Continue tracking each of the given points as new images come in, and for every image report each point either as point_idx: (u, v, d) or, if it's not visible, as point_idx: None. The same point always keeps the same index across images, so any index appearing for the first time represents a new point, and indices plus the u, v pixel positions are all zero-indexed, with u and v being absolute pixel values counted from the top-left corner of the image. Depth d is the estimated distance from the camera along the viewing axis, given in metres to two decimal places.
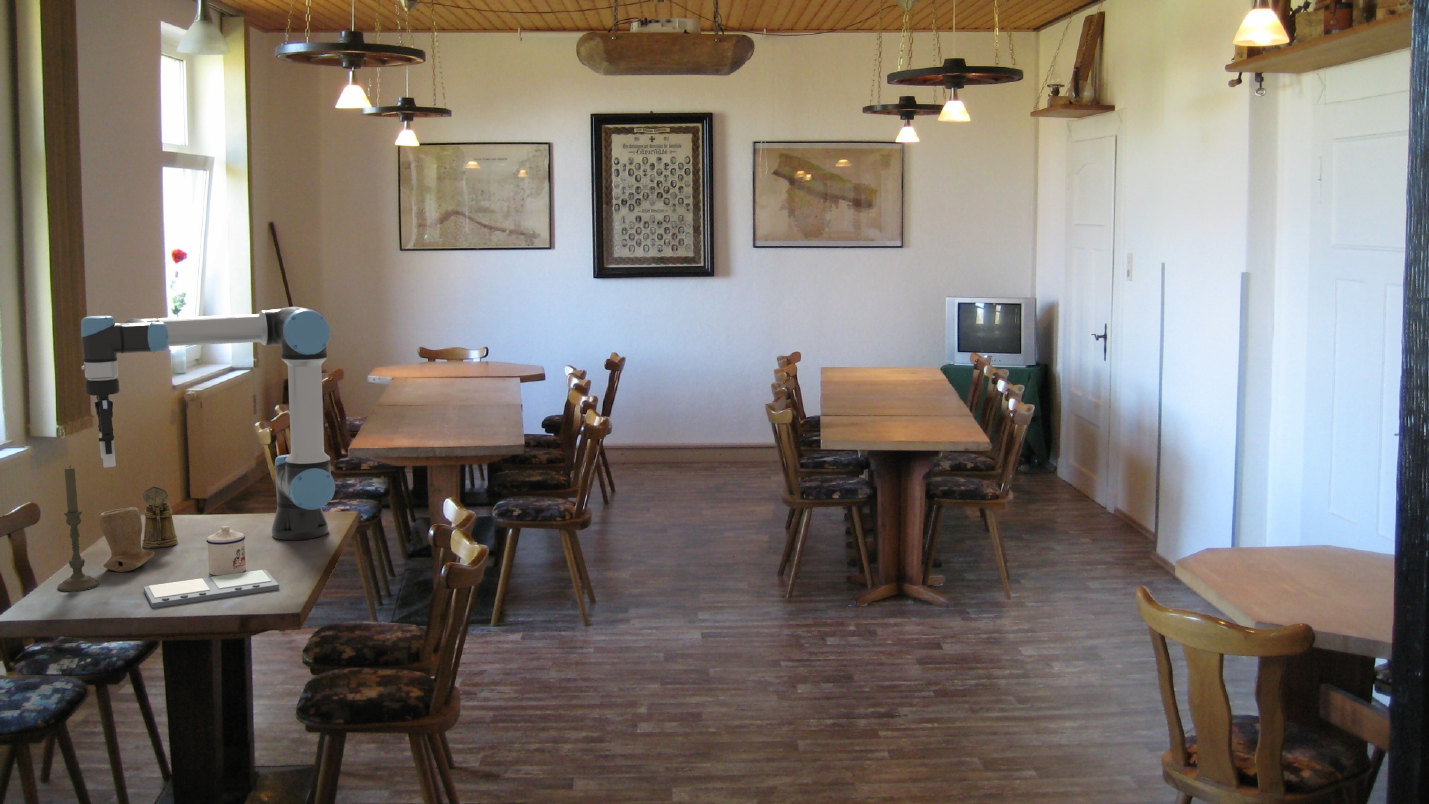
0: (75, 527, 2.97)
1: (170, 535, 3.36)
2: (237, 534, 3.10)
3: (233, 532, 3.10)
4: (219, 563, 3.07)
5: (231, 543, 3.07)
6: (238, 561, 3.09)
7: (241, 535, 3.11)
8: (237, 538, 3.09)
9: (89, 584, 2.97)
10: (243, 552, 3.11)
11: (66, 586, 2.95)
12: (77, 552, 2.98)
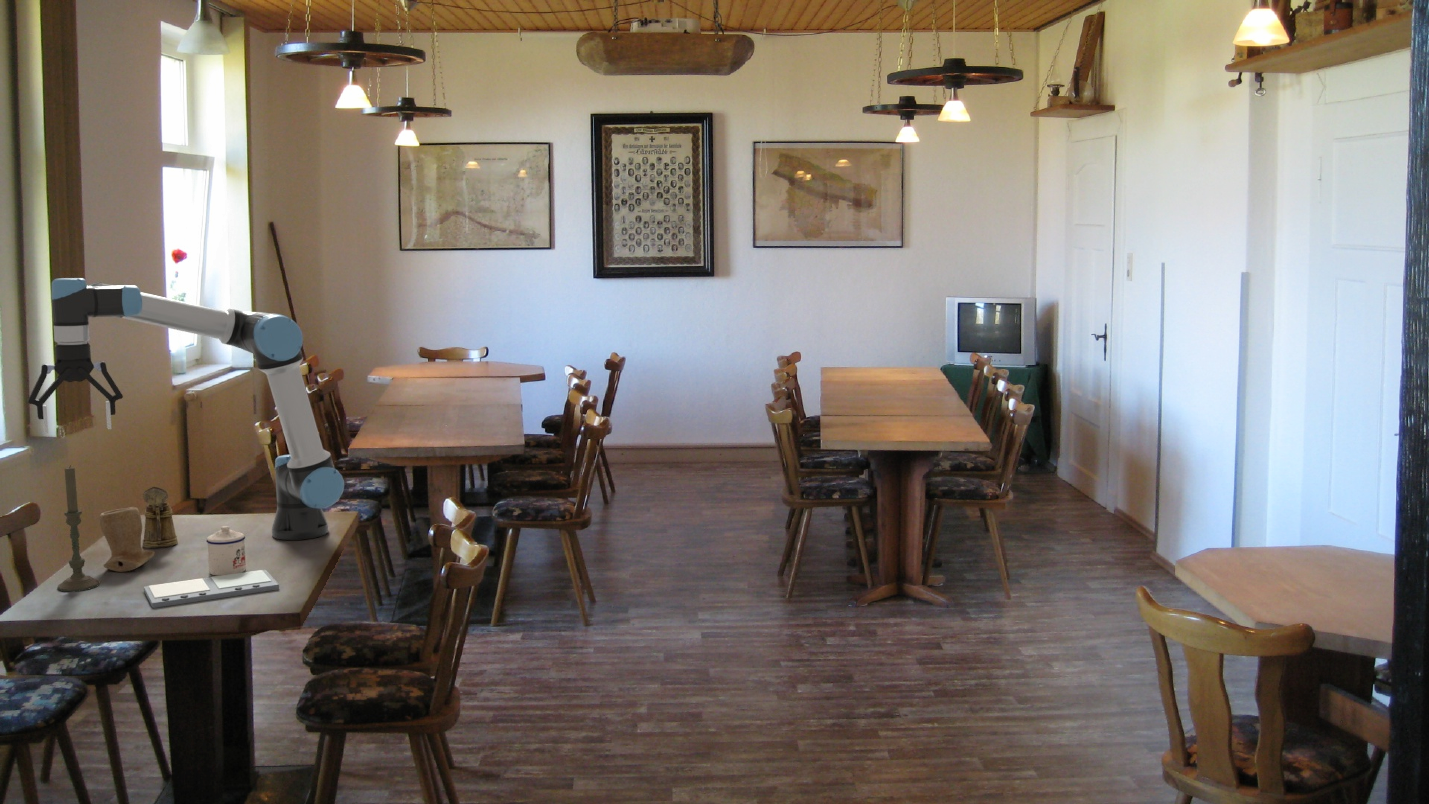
0: (75, 527, 2.97)
1: (170, 535, 3.36)
2: (237, 534, 3.10)
3: (233, 532, 3.10)
4: (219, 563, 3.07)
5: (231, 543, 3.07)
6: (238, 561, 3.09)
7: (241, 535, 3.11)
8: (237, 538, 3.09)
9: (89, 584, 2.97)
10: (243, 552, 3.11)
11: (66, 586, 2.95)
12: (77, 552, 2.98)
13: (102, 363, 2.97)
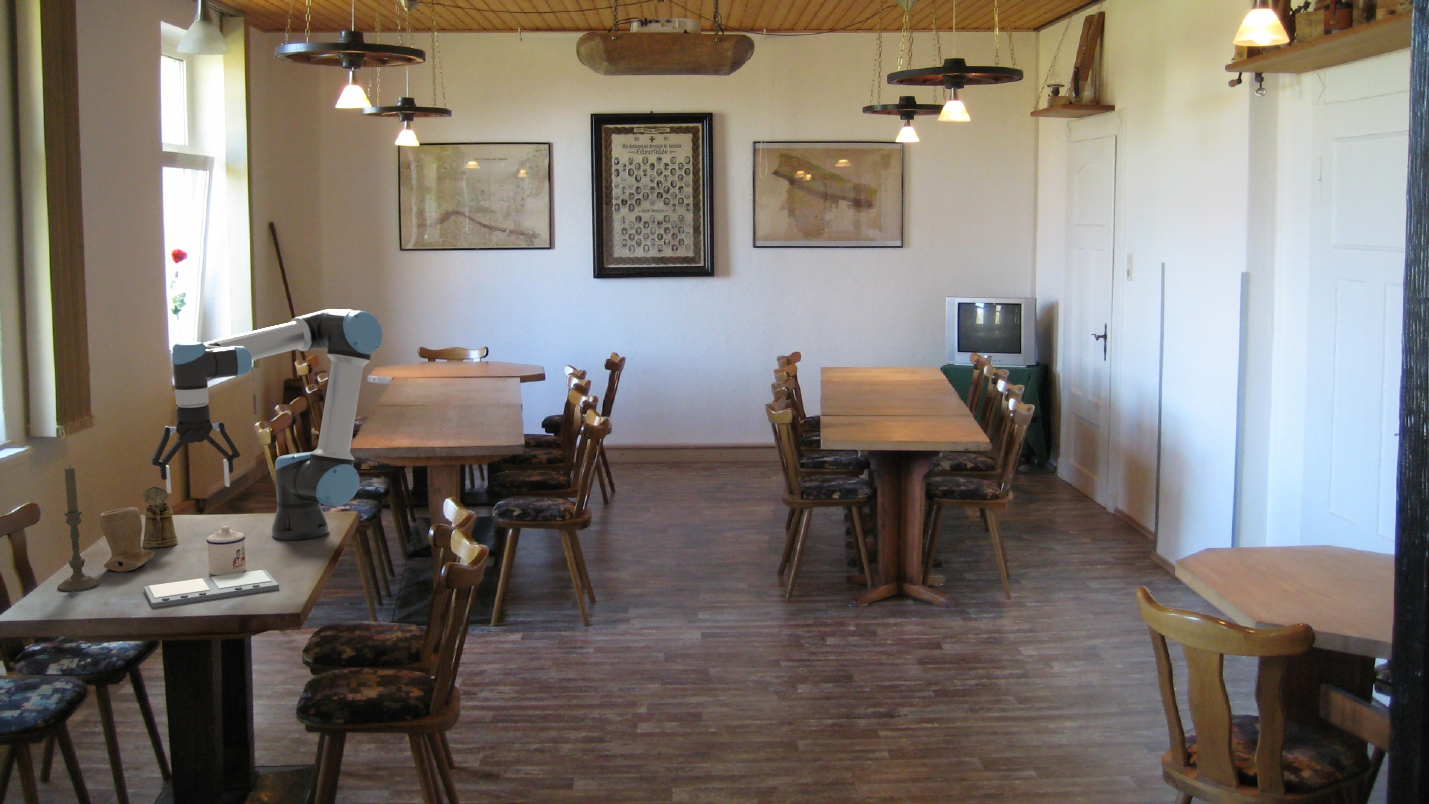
0: (75, 527, 2.97)
1: (170, 535, 3.36)
2: (237, 534, 3.10)
3: (233, 532, 3.10)
4: (219, 563, 3.07)
5: (231, 543, 3.07)
6: (238, 561, 3.09)
7: (241, 535, 3.11)
8: (237, 538, 3.09)
9: (89, 584, 2.97)
10: (243, 552, 3.11)
11: (66, 586, 2.95)
12: (77, 552, 2.98)
13: (221, 423, 3.07)
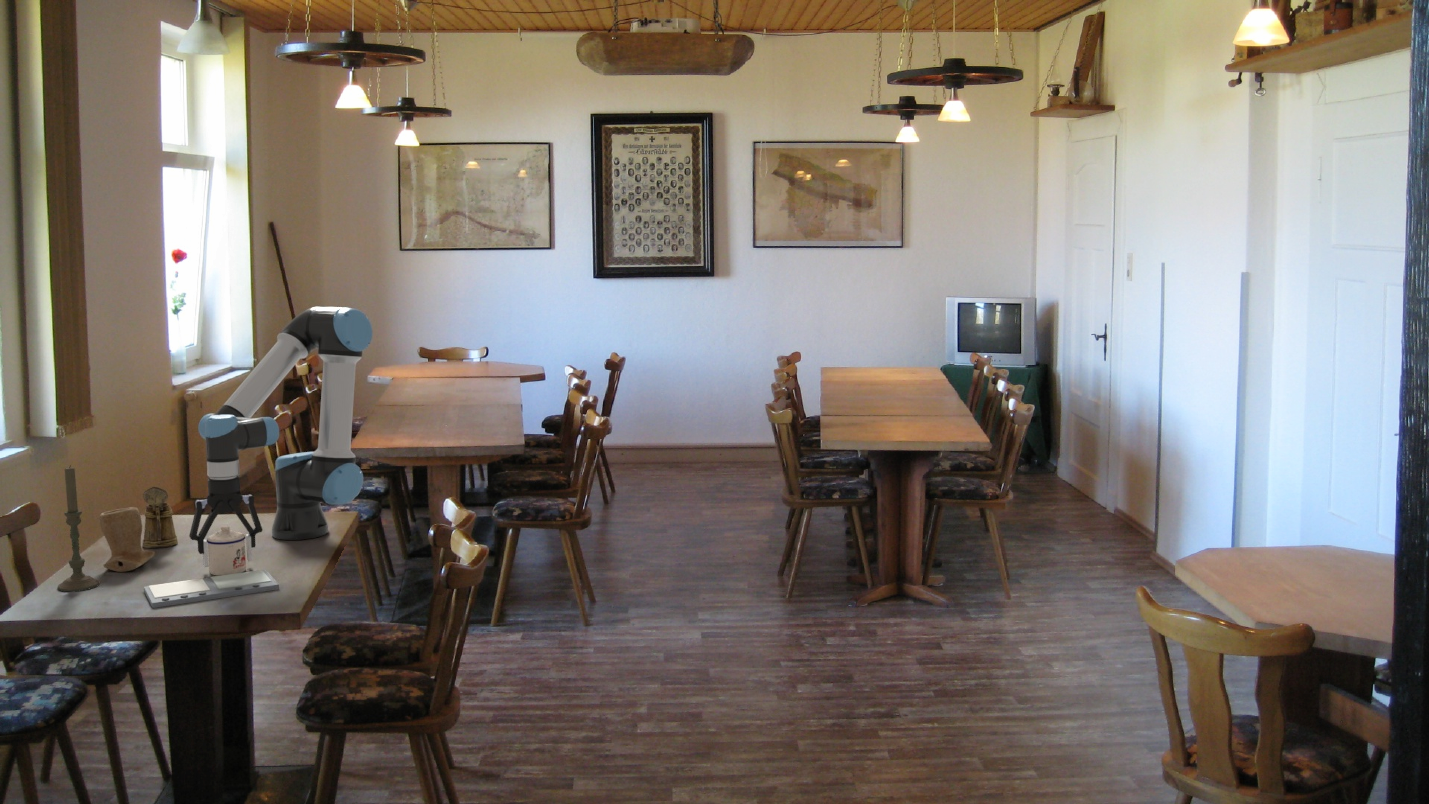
0: (75, 527, 2.97)
1: (170, 535, 3.36)
2: (237, 534, 3.10)
3: (233, 532, 3.10)
4: (219, 563, 3.07)
5: (231, 543, 3.07)
6: (238, 561, 3.09)
7: (241, 535, 3.11)
8: (237, 538, 3.09)
9: (89, 584, 2.97)
10: (243, 552, 3.11)
11: (66, 586, 2.95)
12: (77, 552, 2.98)
13: (251, 497, 3.13)
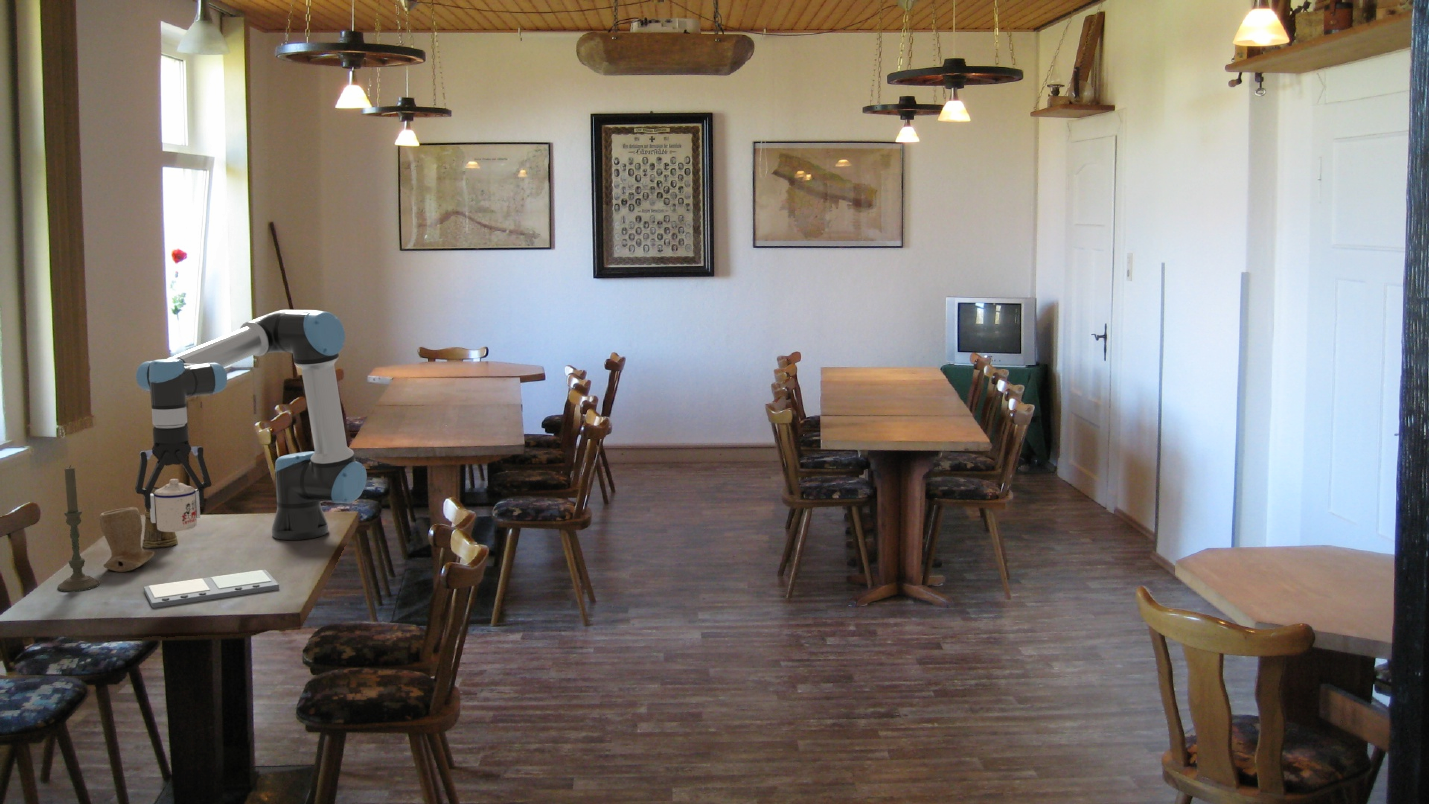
0: (75, 527, 2.97)
1: (170, 535, 3.36)
2: (187, 487, 2.89)
3: (183, 485, 2.89)
4: (167, 518, 2.86)
5: (180, 496, 2.86)
6: (188, 516, 2.88)
7: (191, 488, 2.90)
8: (187, 491, 2.87)
9: (89, 584, 2.97)
10: (194, 507, 2.90)
11: (66, 586, 2.95)
12: (77, 552, 2.98)
13: (200, 448, 2.91)
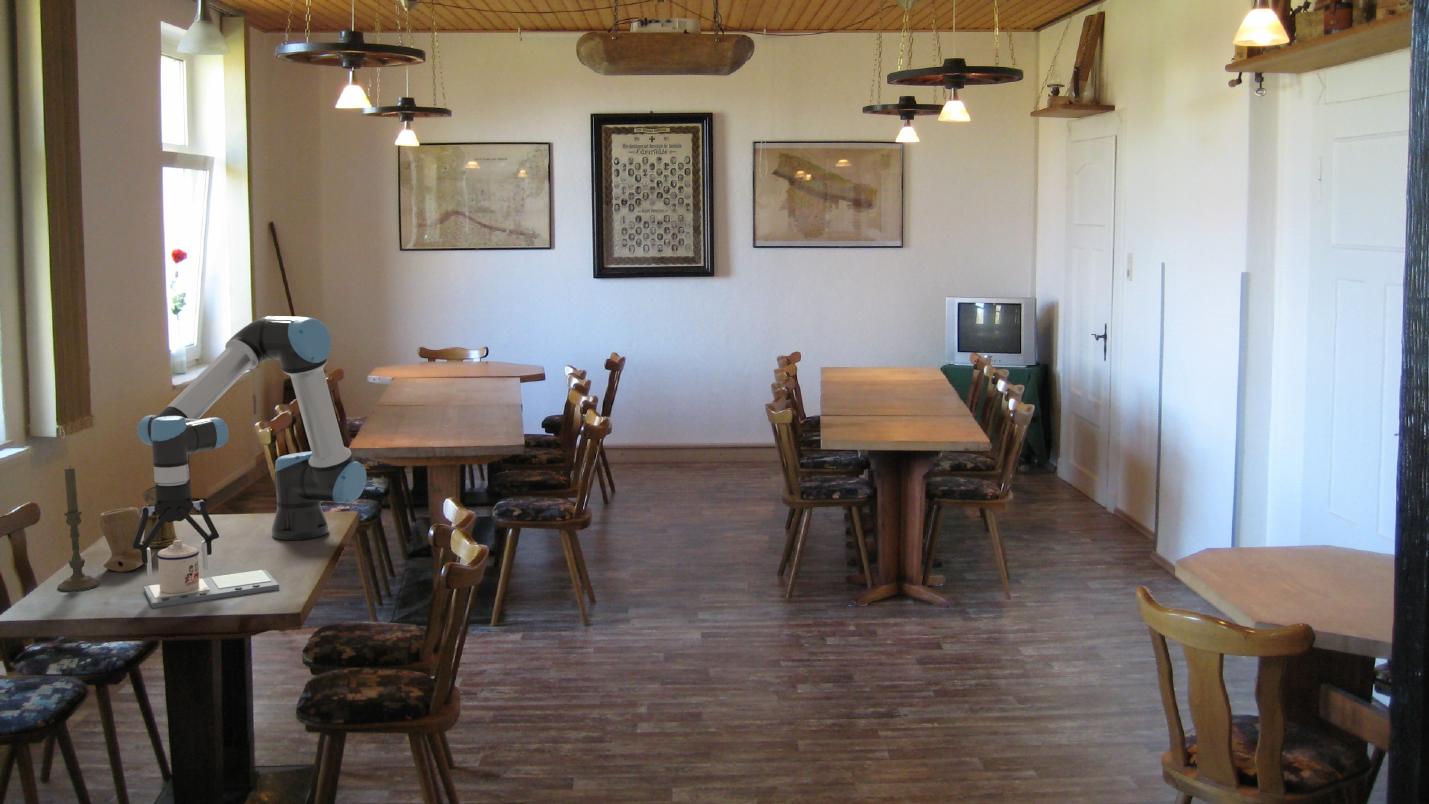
0: (75, 527, 2.97)
1: (170, 535, 3.36)
2: (190, 549, 2.91)
3: (186, 547, 2.91)
4: (170, 580, 2.87)
5: (183, 558, 2.88)
6: (191, 578, 2.90)
7: (194, 550, 2.91)
8: (190, 553, 2.89)
9: (89, 584, 2.97)
10: (196, 568, 2.92)
11: (66, 586, 2.95)
12: (77, 552, 2.98)
13: (202, 502, 2.92)
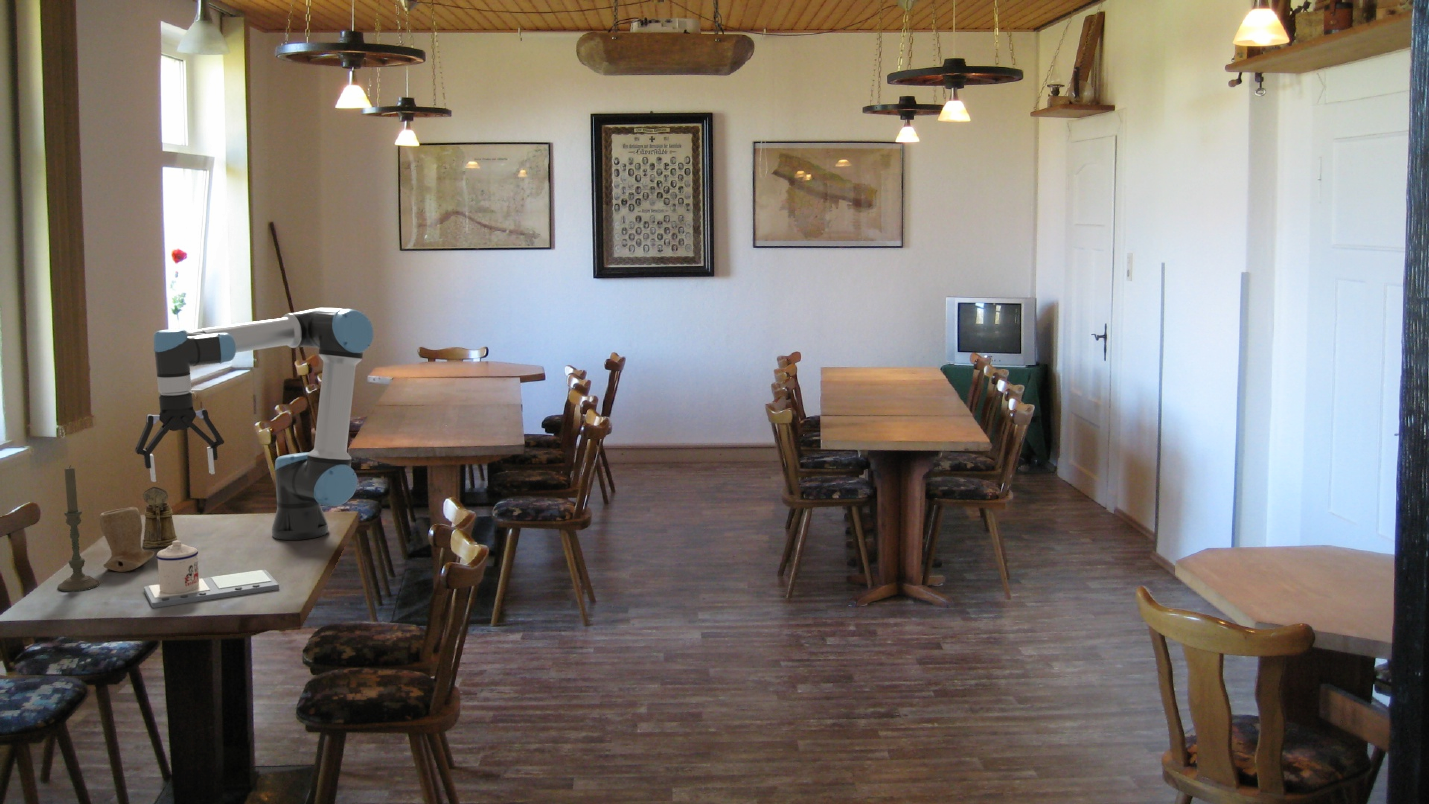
0: (75, 527, 2.97)
1: (170, 535, 3.36)
2: (189, 549, 2.91)
3: (185, 547, 2.90)
4: (170, 581, 2.87)
5: (183, 559, 2.88)
6: (190, 578, 2.90)
7: (194, 550, 2.91)
8: (189, 553, 2.89)
9: (89, 584, 2.97)
10: (196, 568, 2.91)
11: (66, 586, 2.95)
12: (77, 552, 2.98)
13: (204, 411, 3.06)
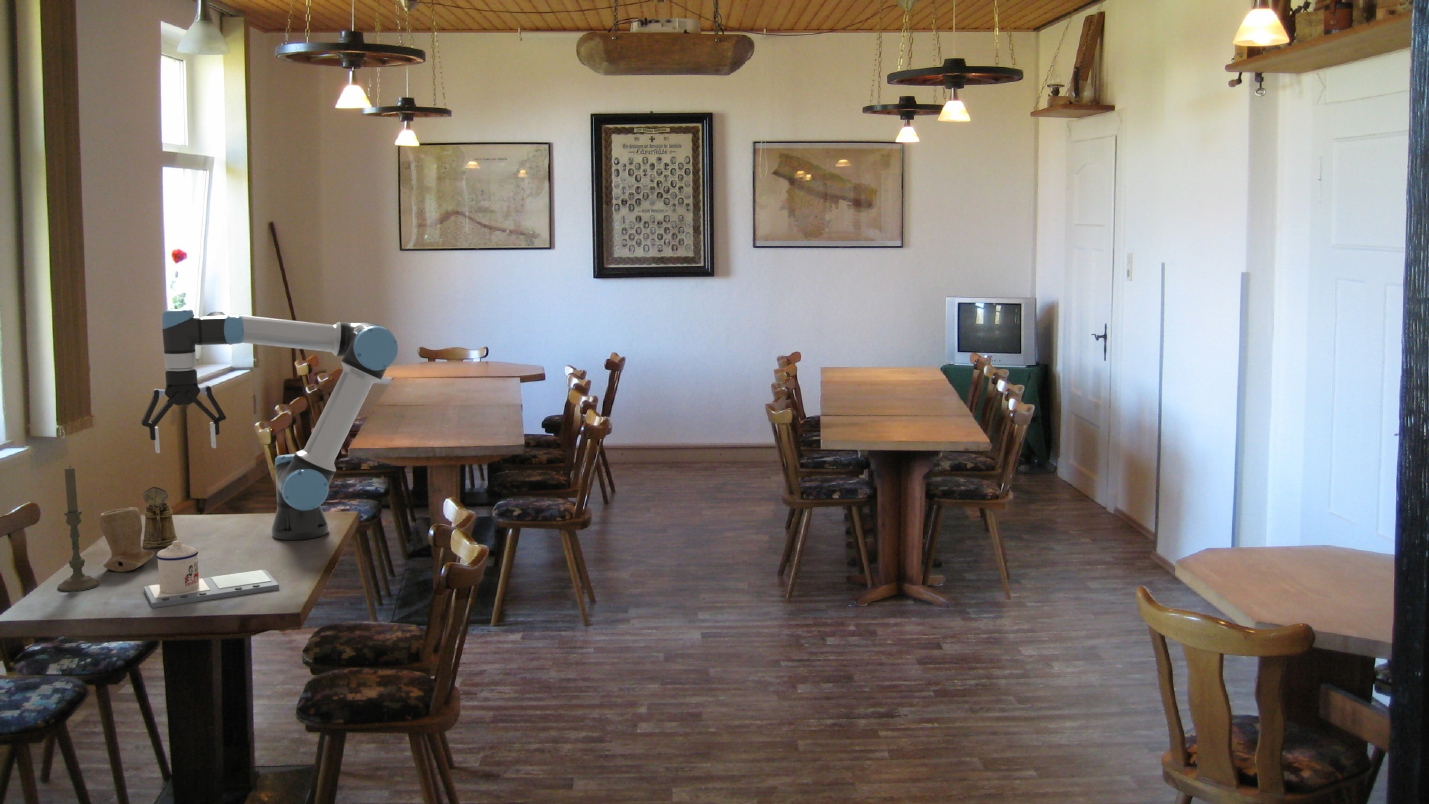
0: (75, 527, 2.97)
1: (170, 535, 3.36)
2: (189, 549, 2.91)
3: (185, 547, 2.90)
4: (170, 581, 2.87)
5: (183, 559, 2.88)
6: (190, 578, 2.90)
7: (194, 550, 2.91)
8: (189, 553, 2.89)
9: (89, 584, 2.97)
10: (196, 568, 2.91)
11: (66, 586, 2.95)
12: (77, 552, 2.98)
13: (208, 387, 3.21)
